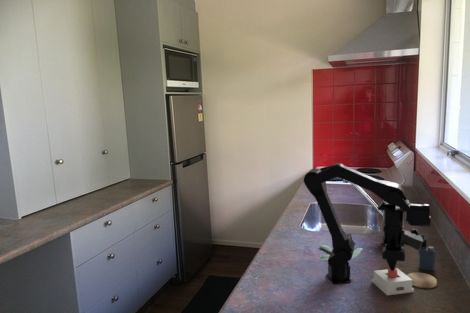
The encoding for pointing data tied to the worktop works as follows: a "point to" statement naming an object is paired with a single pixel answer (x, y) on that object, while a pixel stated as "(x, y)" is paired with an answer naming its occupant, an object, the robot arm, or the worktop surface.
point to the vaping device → (426, 256)
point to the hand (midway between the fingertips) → (392, 269)
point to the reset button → (392, 273)
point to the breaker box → (392, 282)
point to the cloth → (328, 249)
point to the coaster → (422, 280)
